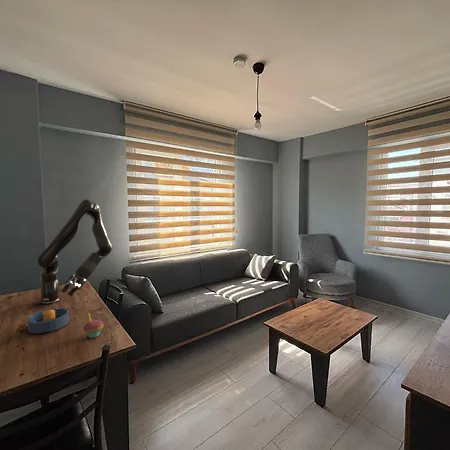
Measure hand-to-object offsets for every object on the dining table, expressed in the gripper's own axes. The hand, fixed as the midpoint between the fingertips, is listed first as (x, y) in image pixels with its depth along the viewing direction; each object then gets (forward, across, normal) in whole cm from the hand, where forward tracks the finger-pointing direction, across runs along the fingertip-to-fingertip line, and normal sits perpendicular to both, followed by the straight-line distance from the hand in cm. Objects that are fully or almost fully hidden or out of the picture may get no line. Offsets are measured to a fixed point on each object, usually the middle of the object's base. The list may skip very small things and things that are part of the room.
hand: (65, 293), depth 136 cm
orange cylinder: (+16, 0, -4) cm, 17 cm away
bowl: (+17, 0, -4) cm, 17 cm away
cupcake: (+10, -29, -11) cm, 33 cm away
